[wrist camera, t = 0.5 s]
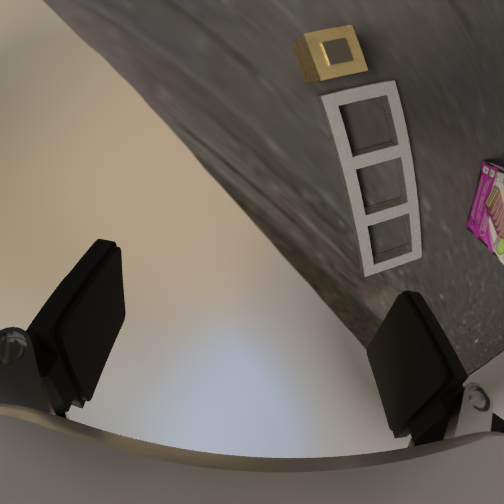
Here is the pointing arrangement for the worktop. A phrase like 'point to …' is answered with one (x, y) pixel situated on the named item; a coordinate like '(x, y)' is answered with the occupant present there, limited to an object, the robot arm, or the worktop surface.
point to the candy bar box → (489, 209)
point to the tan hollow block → (329, 54)
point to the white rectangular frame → (370, 156)
